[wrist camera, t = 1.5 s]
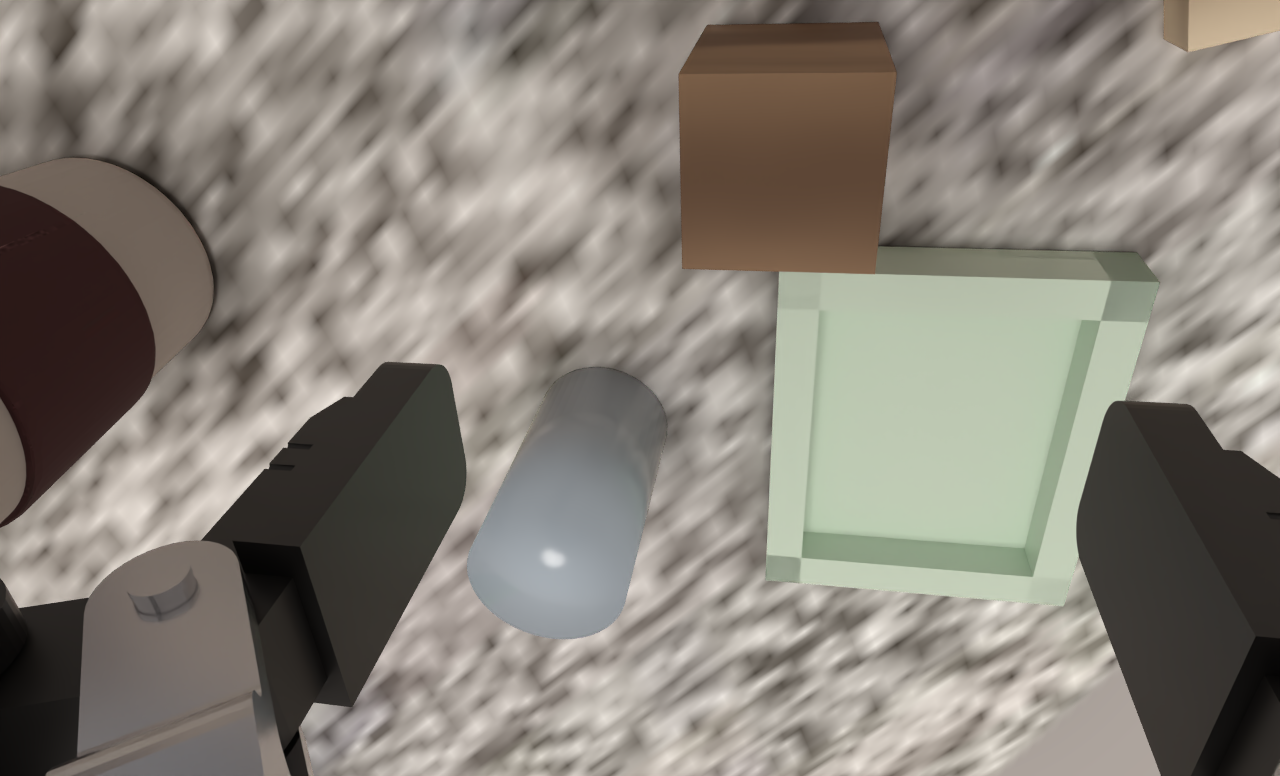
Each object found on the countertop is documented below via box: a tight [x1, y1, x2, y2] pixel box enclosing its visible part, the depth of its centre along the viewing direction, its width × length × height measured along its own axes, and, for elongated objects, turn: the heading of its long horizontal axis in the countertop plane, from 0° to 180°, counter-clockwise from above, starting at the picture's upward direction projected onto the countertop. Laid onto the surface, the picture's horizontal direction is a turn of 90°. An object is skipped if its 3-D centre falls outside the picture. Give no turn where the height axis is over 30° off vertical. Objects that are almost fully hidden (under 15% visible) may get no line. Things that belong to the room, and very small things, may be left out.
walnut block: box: [679, 22, 897, 274], centre depth 22 cm, size 4×4×6 cm
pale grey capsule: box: [467, 367, 667, 639], centre depth 28 cm, size 5×5×8 cm
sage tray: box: [765, 246, 1160, 606], centre depth 28 cm, size 12×10×2 cm
